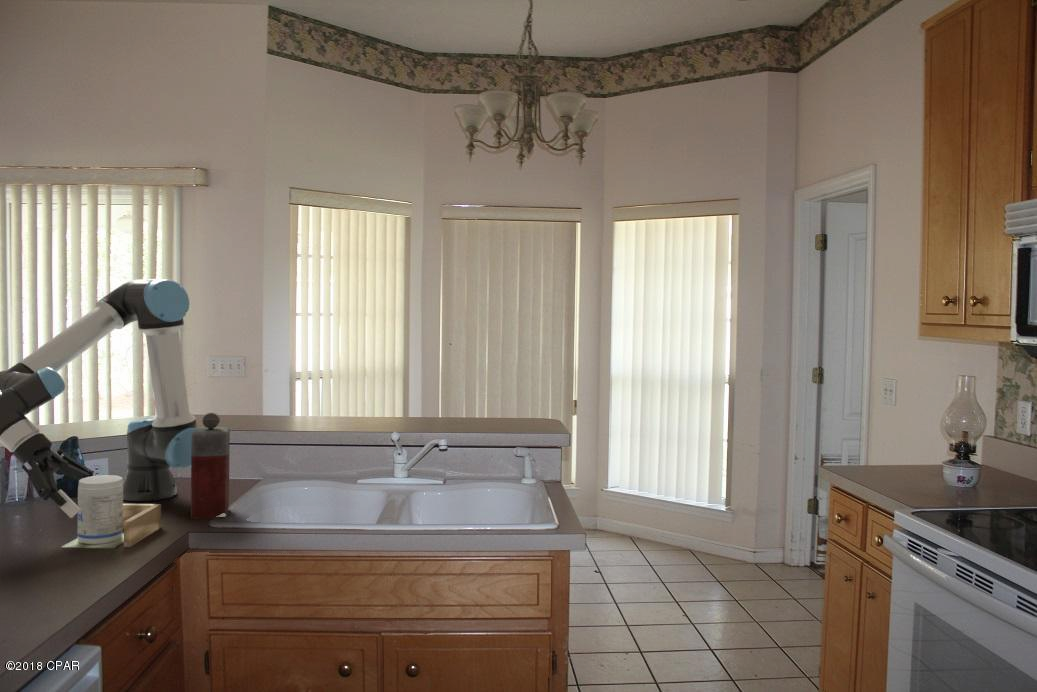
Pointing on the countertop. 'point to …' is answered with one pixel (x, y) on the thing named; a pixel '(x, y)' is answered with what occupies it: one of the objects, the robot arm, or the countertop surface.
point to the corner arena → (130, 526)
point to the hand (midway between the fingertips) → (91, 506)
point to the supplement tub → (100, 509)
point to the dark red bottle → (210, 469)
